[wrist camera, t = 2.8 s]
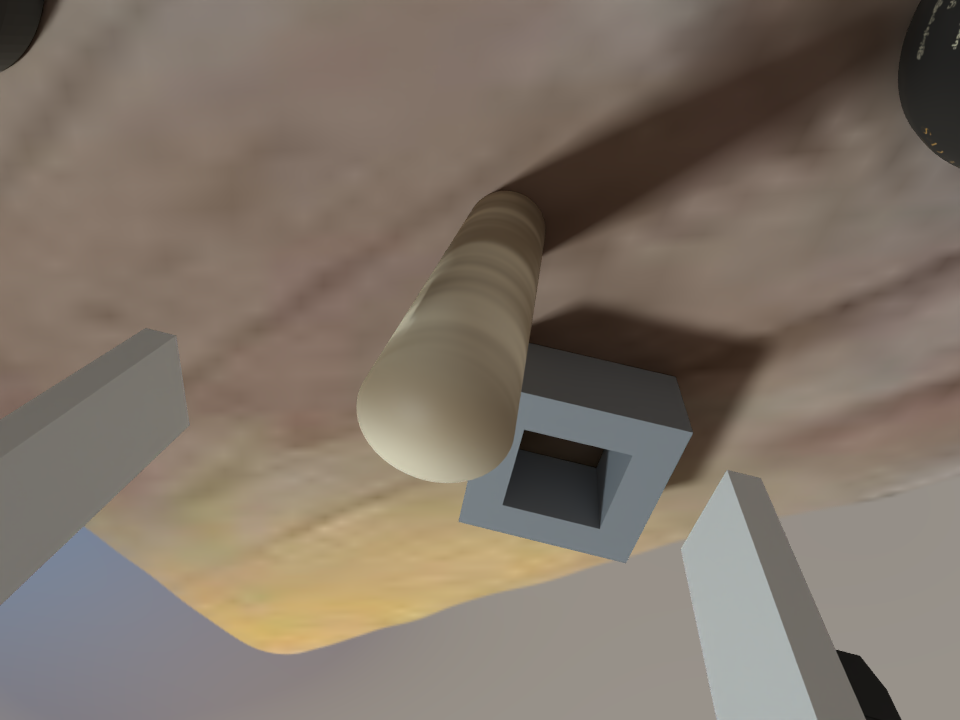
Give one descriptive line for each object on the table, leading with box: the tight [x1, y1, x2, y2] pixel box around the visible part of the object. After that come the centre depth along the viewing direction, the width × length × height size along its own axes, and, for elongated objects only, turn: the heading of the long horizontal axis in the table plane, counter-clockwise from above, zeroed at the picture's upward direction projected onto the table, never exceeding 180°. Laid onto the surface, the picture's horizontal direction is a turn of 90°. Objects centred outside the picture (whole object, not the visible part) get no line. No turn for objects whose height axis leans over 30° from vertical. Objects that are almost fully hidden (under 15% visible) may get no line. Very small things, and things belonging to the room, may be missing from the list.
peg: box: [357, 191, 546, 483], centre depth 20 cm, size 4×4×16 cm
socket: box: [459, 343, 693, 563], centre depth 30 cm, size 10×10×5 cm
